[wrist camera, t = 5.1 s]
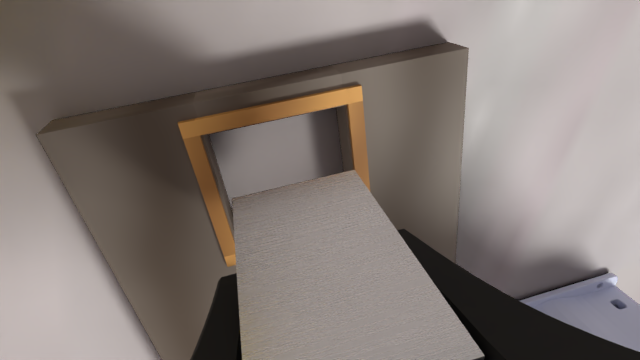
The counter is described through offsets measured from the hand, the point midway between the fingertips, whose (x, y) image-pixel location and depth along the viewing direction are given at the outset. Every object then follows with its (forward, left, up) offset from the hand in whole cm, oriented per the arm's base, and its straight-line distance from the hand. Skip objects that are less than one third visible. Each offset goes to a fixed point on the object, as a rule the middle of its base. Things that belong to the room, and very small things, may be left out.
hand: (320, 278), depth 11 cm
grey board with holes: (0, +5, -7) cm, 9 cm away
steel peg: (0, 0, -2) cm, 3 cm away
